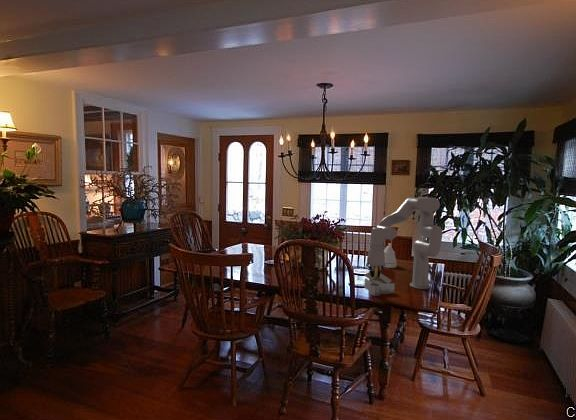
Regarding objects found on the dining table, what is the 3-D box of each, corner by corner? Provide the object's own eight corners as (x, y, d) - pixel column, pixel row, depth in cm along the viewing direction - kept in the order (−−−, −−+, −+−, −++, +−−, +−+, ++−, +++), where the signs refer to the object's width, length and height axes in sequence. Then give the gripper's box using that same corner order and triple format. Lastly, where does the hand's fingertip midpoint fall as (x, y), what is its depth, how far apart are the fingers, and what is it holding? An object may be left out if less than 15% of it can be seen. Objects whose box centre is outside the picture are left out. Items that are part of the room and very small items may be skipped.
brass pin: (376, 279, 230) (377, 263, 229) (378, 280, 227) (379, 264, 226) (371, 279, 230) (372, 263, 229) (373, 280, 226) (374, 264, 226)
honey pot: (381, 263, 310) (383, 241, 308) (397, 265, 304) (398, 243, 303) (378, 266, 299) (379, 244, 297) (394, 268, 293) (395, 246, 291)
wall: (384, 287, 257) (368, 271, 261) (392, 280, 252) (376, 263, 256) (375, 297, 244) (359, 279, 248) (383, 289, 239) (367, 272, 243)
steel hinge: (383, 286, 245) (384, 277, 245) (396, 294, 229) (397, 285, 229) (360, 287, 242) (360, 278, 241) (371, 296, 226) (372, 286, 225)
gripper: (386, 246, 232) (384, 274, 234) (361, 246, 228) (360, 275, 230) (392, 248, 225) (390, 277, 227) (367, 248, 221) (365, 278, 223)
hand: (375, 276), depth 228 cm, fingers closed on brass pin, 3 cm apart
